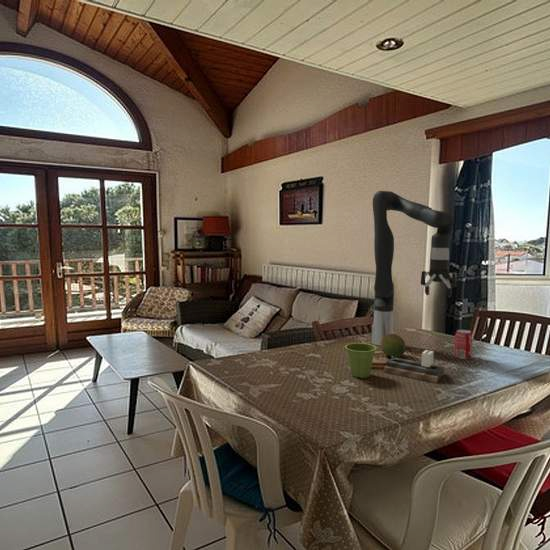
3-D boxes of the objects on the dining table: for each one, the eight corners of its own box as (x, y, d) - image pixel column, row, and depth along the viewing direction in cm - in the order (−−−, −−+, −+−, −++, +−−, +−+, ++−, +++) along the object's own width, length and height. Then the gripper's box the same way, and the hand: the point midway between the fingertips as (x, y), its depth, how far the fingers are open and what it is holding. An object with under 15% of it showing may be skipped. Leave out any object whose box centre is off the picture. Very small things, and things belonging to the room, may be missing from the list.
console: (383, 372, 157) (383, 362, 156) (394, 364, 166) (394, 355, 166) (435, 383, 145) (436, 373, 144) (444, 374, 154) (445, 364, 154)
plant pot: (355, 368, 162) (356, 341, 161) (381, 375, 153) (382, 346, 152) (338, 375, 153) (338, 346, 152) (364, 383, 145) (365, 353, 144)
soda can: (467, 355, 179) (469, 329, 177) (474, 360, 172) (475, 333, 170) (451, 355, 179) (452, 329, 178) (457, 359, 172) (458, 332, 171)
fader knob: (421, 370, 151) (421, 352, 151) (425, 367, 155) (425, 349, 155) (429, 372, 150) (429, 353, 149) (432, 368, 154) (433, 350, 153)
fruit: (396, 351, 185) (397, 330, 184) (413, 359, 173) (414, 337, 172) (374, 354, 181) (375, 332, 180) (390, 362, 169) (391, 339, 168)
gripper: (419, 258, 170) (418, 295, 171) (455, 259, 161) (453, 298, 163) (424, 257, 176) (423, 293, 177) (459, 258, 167) (457, 296, 169)
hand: (437, 295), depth 170 cm, fingers open, 8 cm apart
